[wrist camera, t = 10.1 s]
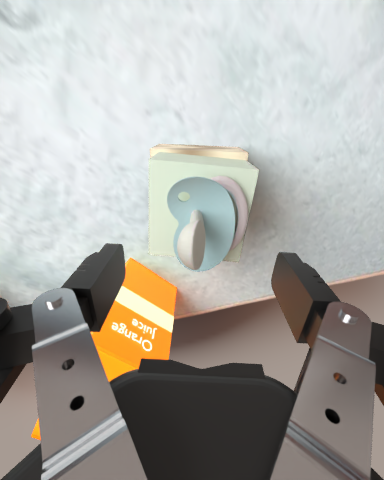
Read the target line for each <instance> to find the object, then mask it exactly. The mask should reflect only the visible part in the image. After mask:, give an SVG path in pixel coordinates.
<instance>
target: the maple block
mask: <svg viewBox="0 0 384 480" xmlns="http://www.w3.org/2000/svg"><path fill="white" fill-rule="evenodd" d="M158 152H167V153H177V154H188V155H198V156H208V157H218V158H229V159H239V160H246V161H247V160H248V152H246V151H244V150H242V149H240V148H239V147H223V146H198V145H174V144H158V145H156V146H154V147H152V148H150V158H151V157H152V156H154V155H155V154H157V153H158Z"/></svg>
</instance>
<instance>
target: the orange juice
mask: <svg viewBox="0 0 384 480" xmlns="http://www.w3.org/2000/svg"><path fill="white" fill-rule="evenodd" d="M125 268H126V275H125V280H124V282H123V285H122V287H121V289H120V291H119V293H118V295H117V297H116V299H115V301H114V303H113V305H112V308H111V310H110V312H109V314H108V316H107V318H106V320H105V322H104V324H103V326H102V328H101V331H100V332H91V335H92V338H93V340H94V343H95V346H96V348H97V351H98V354H99V356H100V359H101V362H102V364H103V367H104V370H105V372H106V375H107V378H108V380H109V381H111V380H112V379H114V378H116V377H117V376H119V375H121V374H123V373H125V372H128V371H131V370H134V369H139V365H140V361H141V358H145V359H165V360H169V351H170V343H171V334H172V329H173V321H174V308H175V300H176V291H177V287H175V286H173V285H172V284H170V283H169V282H167V281H166V280H164V279H163V278H161V277H160V276H158V275H157V274H155V273H153V272H152V271H150V270H149V269H147V268H146V267H144V266H143V265H141V264H140V263H138V262H137V261H135V260H133V259H132V258H130V259H129V260H128V261H127V262H126V263H125ZM31 437H33V438H36V439H39V440H40V429H39V419H38V421H37V423H36V426H35V428H34V431H33V433H32V436H31Z"/></svg>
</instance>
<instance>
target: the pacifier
mask: <svg viewBox="0 0 384 480" xmlns="http://www.w3.org/2000/svg"><path fill="white" fill-rule="evenodd" d="M181 192H187V193H188V194H189V195H190V198H189V199H188V200H187V201H181V200H180V199H179V198H178V195H179V193H181ZM228 193H229V194H230V195H231V196H232V197H233V199H234V201H235V205H236V210H237V220H236V225H235V212H234V207H233V203H232V200H231V198H230V196H229V194H228ZM167 204H168V208H169V210H170V212H171V214H172V215H173V216H174V218H175V219H177V220H178V223H179V225H178V227H177V229H176V232H175V235H174V240H173V247H174V252H175V255H176V257H177V259H178V260H179V262H180V263H181V264H182V265H183V266H184V267H186V268H187V269H189V270H192V271H197V272H200V271H206V270H209V269H211V268H213V267H215V266H216V265H218V264H219V263H220V262H221V261H222V260H223V259H224V258H225V256H226V255H227V253H228V252H229V251H230V250H232V249H234V248H235V247H236V246H237V245H238V244H239V242H240V241H241V239H242V237H243V236H244V233H245V230H246V227H247V221H248V206H247V202H246V198H245V195H244V193H243V191H242V189H241V187H240V186H239V185H238V184H237V183H236V182H235V181H234V180H232V179H230V178H229V177H226V176H216V177H213V178H210V179H208V178H205V177H197V176H196V177H187V178H184V179H181V180H179V181H178V182H176V183H175V184H174V185H173V186H172V187H171V188H170V190H169V192H168V195H167Z"/></svg>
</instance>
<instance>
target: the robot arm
mask: <svg viewBox="0 0 384 480" xmlns="http://www.w3.org/2000/svg"><path fill="white" fill-rule="evenodd" d="M125 275H126V268H125V259H124V251H123V246H122V244H108V243H107V244H105V245H104V247H103V248H102V249H101V251H100V252H99V253H97V252H95V253H93V254H92V255H90V256H88V257H87V258H86V259H85V260H84V261H83V262H82V263H81V265H80V266H79V267H78V268H77V270H76V271H75V272H74V273H73V274H72V275H71V276H70V278H69V279H68V280H67V281H66V282H65V283H64V285H63V286H62V287H61V288H57V289H53V290H50V291H47V292H45V293H43V294H41V295H40V296H39V297H37V298H36V299H35V300H34V302H33V304H30V305H24V306H18V307H12V308H9V306H8V303H7V301H6V300H5V299H2V298H0V403H1V402H2V400H3V399H4V397H5V396H6V394H7V393H8V391H9V389H10V388H11V387H12V385H13V383H14V382H15V381H16V379H17V377H18V376H19V374H20V373H21V371H22V370H23V368H24V367H25V365H26V364H27V363H31V362H33V366H34V376H35V387H36V397H37V408H38V419H39V429H40V440H41V443H40V444H39V445H38V446H37V447H36V448H35V449H34V450H33V451H32V452H31V453H29V454H28V455H27V456H26V457H25V458H24V459H23V460H22V461H21V462H20V463H18V464H17V465H16V466H15V467H14V468H13V469H12V470H11V471H10V472H9V473H8V474H6V475H5V476H4V477H3V478H2V479H1V480H383V479H382V478H381V477H380V476H379V475H378V474H377V473H376V472H375V471H374V470H373V469H372V468H371V451H372V432H373V413H374V412H373V411H374V393H375V392H376V394H377V396H378V397H379V399H380V401H381V402H382V404H383V405H384V325H381V324H378V323H374V322H371V320H370V319H369V317H368V316H367V315H366V314H365V313H364V312H363V311H362V310H360V309H359V308H357V307H355V306H353V305H350V304H348V303H344V302H341V301H340V300H339V299H338V297H337V296H336V295H335V294H334V292H333V291H332V290H331V289H330V288H329V286H328V285H327V284H326V283H325V281H324V280H323V279H322V278H320V275H319V274H318V273H317V272H316V270H315V269H314V268H312V267H311V266H309V265H308V264H306V263H303V262H302V261H301V259H300V258H299V257H298V256H297V254H296V253H285V252H279V253H278V255H277V258H276V262H275V266H274V270H273V274H272V279H271V284H272V289H273V291H274V293H275V296H276V298H277V300H278V302H279V304H280V307H281V309H282V311H283V313H284V315H285V318H286V320H287V322H288V324H289V326H290V328H291V331H292V333H293V335H294V337H295V339H296V341H297V343H308V344H309V346H310V348H309V351H308V353H307V356H306V359H305V361H304V364H303V367H302V370H301V372H300V375H299V378H298V381H297V383H296V386H295V388H294V391H293V390H291V389H290V388H289V387H287V386H286V385H284V384H282V383H281V382H279V381H277V380H276V379H273V378H271V377H269V376H266V375H264V372H263V367H262V365H261V364H244V363H229V364H225V365H220V366H215V367H210V368H206V369H199V368H195V367H192V366H189V365H186V364H182V363H179V362H176V361H173V360H165V359H145V358H141V361H140V365H139V369H134V370H131V371H128V372H125V373H123V374H121V375H119V376H117V377H116V378H114V379H112V380H111V381H109V380H108V378H107V375H106V372H105V370H104V367H103V364H102V362H101V359H100V356H99V354H98V351H97V348H96V346H95V343H94V340H93V338H92V335H91V332H100V331H101V328H102V326H103V324H104V322H105V320H106V318H107V316H108V314H109V312H110V310H111V308H112V305H113V303H114V301H115V299H116V297H117V295H118V293H119V291H120V289H121V287H122V285H123V282H124V280H125Z"/></svg>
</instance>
